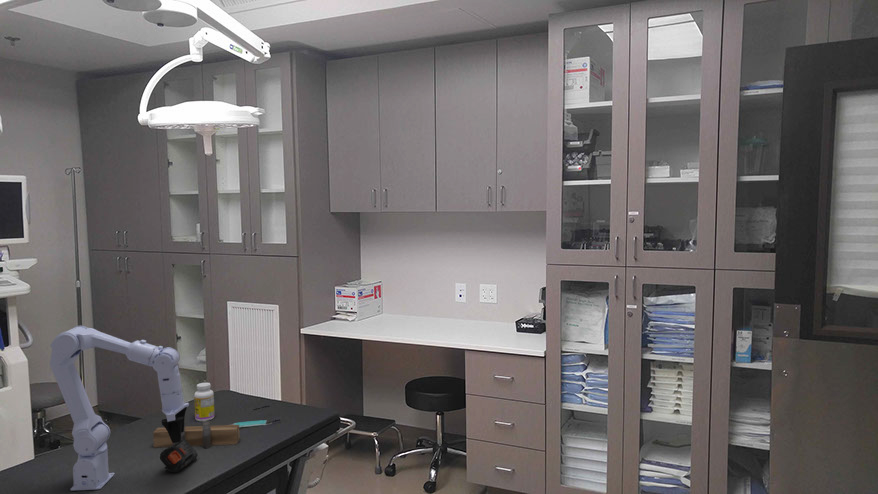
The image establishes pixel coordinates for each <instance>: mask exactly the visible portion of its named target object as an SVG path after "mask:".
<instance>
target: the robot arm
mask: <svg viewBox="0 0 878 494" xmlns="http://www.w3.org/2000/svg"><path fill="white" fill-rule="evenodd" d="M50 347H51V354H50V360H49V366H50V368H51V369H50V370H51V372H52V374H53V376H54V378H55V381H56V383H57V386H58V388H59V390H60V393H61V395H62V398H63V400H64V402H65V405H66V407H67V410H68V412H69V415H70V416H71V417H70V418H71V419H72V422H73V427H72V431H71V435H72V437H73V444H72V445H73V449H74V451H75V452H76V453H77V455H78V457H77V461H76V462H75V463H74V465H73V468H72V476H73V477H72V478H73V479H72V481H73V485H72V487H70V489H69V490H70V491H72V492H73V491H91V490H93V491H95V490H101V489H102V488H103V487H104V486H105V485H106V484H107V483H108V482H109V481H110V480H111V479H112V478H113V477H114V476H115V472H109V470H110V469H109V455H108V454H109V452H108V451H109V450H108V444H107V441H108V440H109V438H110V436H111V429H110V427H109V425H107V424H106V423H105V422H104V421H103V419H102V416H100V415H98V414H96V413H95V411H94V408H93V406H92V403H91V402H90V399H89V396H88V394H87V391H86V390H85V386H84V384H83V382H82V379H81V376H80V374H79V372H78V370H77V367H76V365H75V362H76V360H77V359H78V357H79V356H80V354H81V352H82V351H85V350H89V349H93V348H99V349H103V350H107V351H112V352H114V353H119V354H124V355H125V356H126V357H127V360H129V361H131V362H135V363H139V364H141V365H145V366H146V367H147V366H148V367H150V368H151V367H152V368H153V370H154V371H155V372H156V373H157V381H158V389H159V395H160V399H161V406H162V408H161V412H162V413H163V414H164V415H165V417H166V418H164V419H162V420H161V425H162V427H163V428H166V430H167V432H168V434H169V436H170V439H171V441H172V443H177V442H180V441H181V433H182V432H184V423H185V416H186V412H187V408H188V407H189V406H190V403H189V402H185V401H184V393H183V388H182V387H183V386H182V380H181V373H180V368H179V365H178V364H179V362H180V353H179V352H178V351H177V349H175V348H173V347H171V346H170V347H169V346H167V347H164V346H162V345H159V346H157V345H153V344H151V343H147V340H145V339H141V340H138V339H137V340H134V341H132V342H130V341H127V340H125V339H121V338H119V337H116V336H113V335H110V334H107V333H105V332H103V331H102V332H101V331H99V330H97V329H95V328H91V327H87V326H84V325H76V326H74V327H72V328H71V329H69V330H66V331H63V332H60V333H59V334H58V335H56V336H55V338H54V339H53V341H52V342H51V343H50Z"/></svg>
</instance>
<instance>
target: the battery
mask: <svg viewBox="0 0 878 494" xmlns="http://www.w3.org/2000/svg"><path fill="white" fill-rule="evenodd" d="M198 456H199V455H198V453H197V451H196V449H195V448H194V446H191V445H190V444H189V443H188V442H187V440H186V439H185V438H182V439H181V441H180V442H177V443H174V444H172V445H171V446H170V447H166V448H165V449H164V450H163V451H161V452H160V454H159V459H160V461H161V462H162V464H163V465H164V466H165V467H164V469H165V470H167V471H169V472H171V473H179V472H180V471H181V470H182V469H183V468H185V467H186V466H188V464H190V463H192V462H193V461H194V460H195V459H196V458H197V457H198Z"/></svg>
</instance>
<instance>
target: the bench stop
mask: <svg viewBox="0 0 878 494" xmlns="http://www.w3.org/2000/svg"><path fill="white" fill-rule="evenodd" d="M201 423H202V425H200V426H199V425H198V426H197V425H196V426H195V425H194V426H186V425H185V424H186V423H185V422H184V432H182V433H181V439H182V438H185V439H186V440H187V442H188V443H189V444H190V445H191V446H192V447H199V446H200V447H201V446H203V447H202V448H203V449H210V448H211V447H212V446H222V445H227V446H228V445H237V444H238V443H239V441H240V440H241V439H240V438H241V437H240V428H239V425H232V424H225V425H224V424H223V425H222V424H219V425H211V420H209V421H203V422H201ZM152 435H153V437H152V439H153V440H152V441H153V448H168V447H170V446H171V445H172V444H174V443H172V441H171V439H170V436H169V434H168V432H167V430H166V428H165V427H157V428H156V429H154V431H153V434H152Z"/></svg>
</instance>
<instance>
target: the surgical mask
mask: <svg viewBox="0 0 878 494" xmlns="http://www.w3.org/2000/svg"><path fill="white" fill-rule="evenodd" d="M268 407H269V408H270V405H265V406H262V407H256V408H253V411H256V410H260V409H264V408H268ZM253 411H251V413H253ZM267 421H268V420H265V418H264V419H261V420H251V421H248V420H247V421H240V422H234V423H232V424H231V425H239V429H240V428H241V429H242V428H250V427H261V426H267V425H271V424H272V423H275V422H279V421H281V419H277V420H276V419H275V420H272V421H269V422H267Z"/></svg>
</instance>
